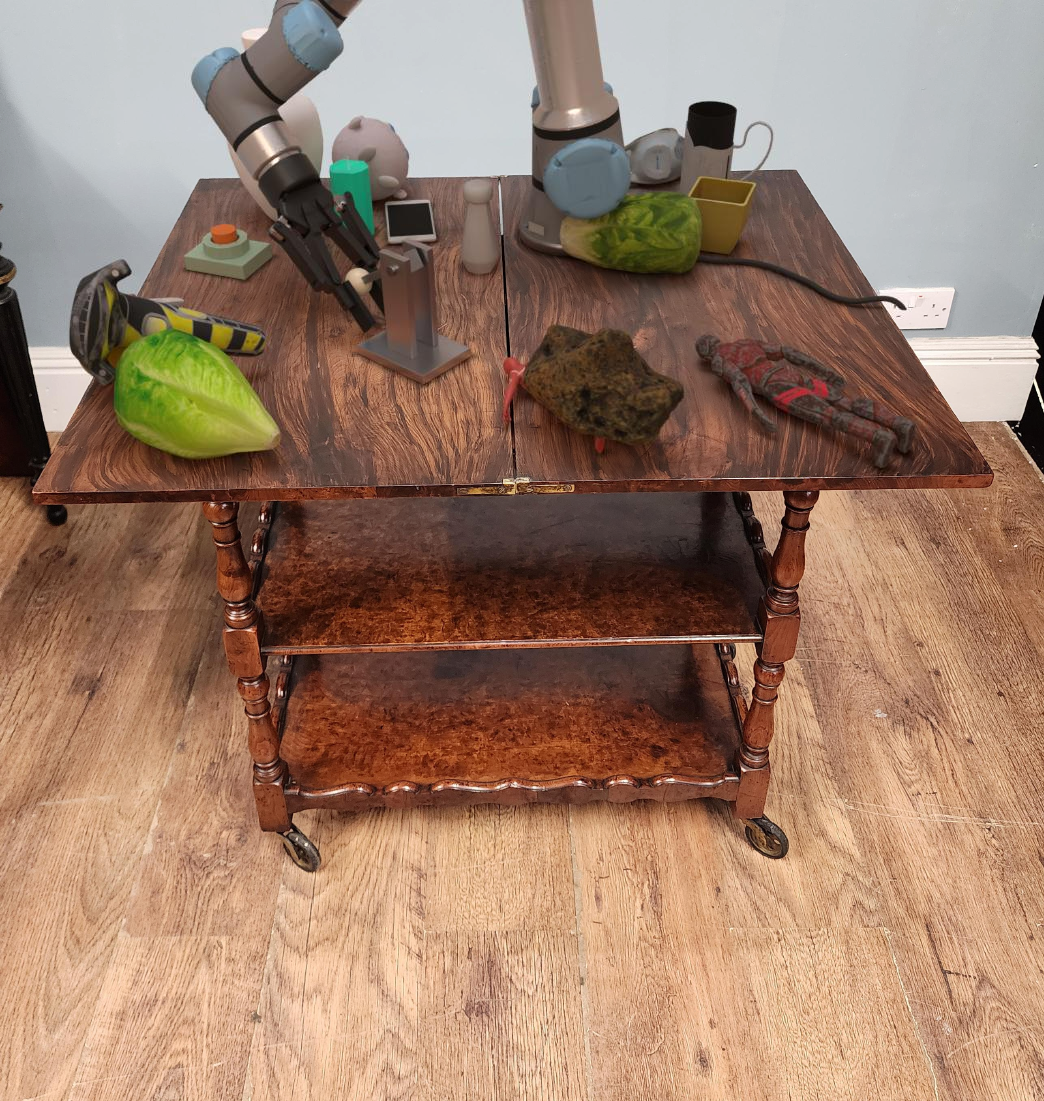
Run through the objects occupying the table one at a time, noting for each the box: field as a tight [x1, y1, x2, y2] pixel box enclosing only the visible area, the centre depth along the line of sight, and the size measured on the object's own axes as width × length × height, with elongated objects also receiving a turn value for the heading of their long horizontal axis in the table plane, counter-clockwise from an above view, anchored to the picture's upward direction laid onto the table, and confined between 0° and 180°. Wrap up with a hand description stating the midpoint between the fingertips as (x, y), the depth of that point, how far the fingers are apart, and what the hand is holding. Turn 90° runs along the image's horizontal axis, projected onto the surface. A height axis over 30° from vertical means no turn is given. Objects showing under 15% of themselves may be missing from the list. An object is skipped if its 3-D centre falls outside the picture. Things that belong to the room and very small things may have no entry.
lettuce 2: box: [559, 190, 702, 276], centre depth 157 cm, size 12×21×11 cm, turn 86°
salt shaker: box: [459, 178, 500, 276], centre depth 156 cm, size 6×6×13 cm
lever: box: [344, 248, 424, 297], centre depth 138 cm, size 14×4×4 cm
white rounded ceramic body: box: [624, 127, 685, 185], centre depth 183 cm, size 9×19×10 cm
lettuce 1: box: [113, 328, 282, 461], centre depth 123 cm, size 14×20×12 cm
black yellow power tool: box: [68, 258, 268, 387], centre depth 126 cm, size 14×26×10 cm
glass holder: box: [678, 100, 774, 195], centre depth 172 cm, size 9×14×15 cm, turn 74°
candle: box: [328, 156, 375, 236], centre depth 166 cm, size 6×6×12 cm
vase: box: [226, 27, 324, 222], centre depth 164 cm, size 14×14×28 cm
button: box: [210, 223, 238, 245], centre depth 159 cm, size 4×4×2 cm
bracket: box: [356, 238, 472, 386], centre depth 137 cm, size 12×9×15 cm
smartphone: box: [384, 199, 438, 245], centre depth 172 cm, size 8×1×15 cm
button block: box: [183, 228, 273, 281], centre depth 161 cm, size 10×8×4 cm
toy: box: [331, 115, 410, 202], centre depth 176 cm, size 14×12×15 cm
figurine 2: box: [695, 333, 917, 469], centre depth 131 cm, size 14×5×30 cm
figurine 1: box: [502, 356, 606, 453], centre depth 131 cm, size 16×4×20 cm
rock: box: [522, 323, 685, 446], centre depth 122 cm, size 13×12×20 cm
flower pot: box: [688, 176, 757, 255], centre depth 163 cm, size 9×9×9 cm
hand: (381, 321), depth 143 cm, fingers closed on lever, 4 cm apart
